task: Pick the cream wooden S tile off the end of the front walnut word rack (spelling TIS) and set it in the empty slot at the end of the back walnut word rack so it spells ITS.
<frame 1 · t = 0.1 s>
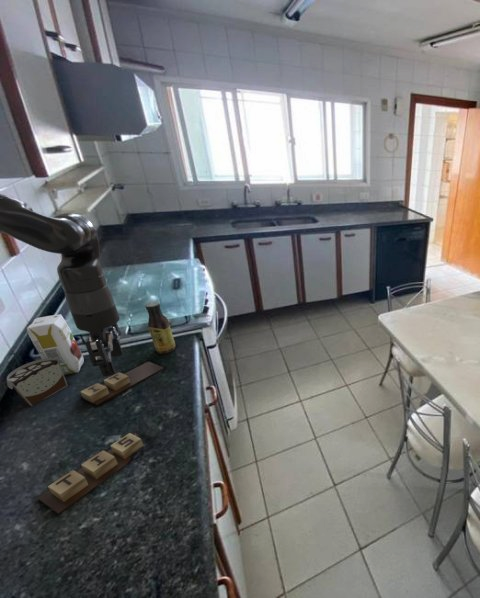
hand: (113, 364, 80), 22 cm above the table, tool pointing down, fingers open, 8 cm apart
food container: (43, 394, 99), on the table
left word rack: (102, 470, 79), on the table
right word rack: (125, 382, 107), on the table
s tile: (128, 449, 84), point 1 cm above the table, touching left word rack
sauce bottle: (167, 350, 124), on the table
juice carton: (69, 370, 110), on the table
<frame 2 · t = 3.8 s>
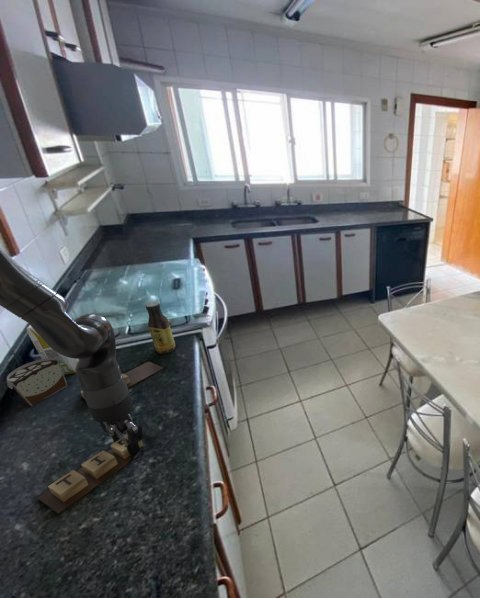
hand: (128, 448, 84), 1 cm above the table, tool pointing down, fingers closed on s tile, 4 cm apart
s tile: (128, 449, 84), point 1 cm above the table, touching gripper, left word rack
everything else where it was.
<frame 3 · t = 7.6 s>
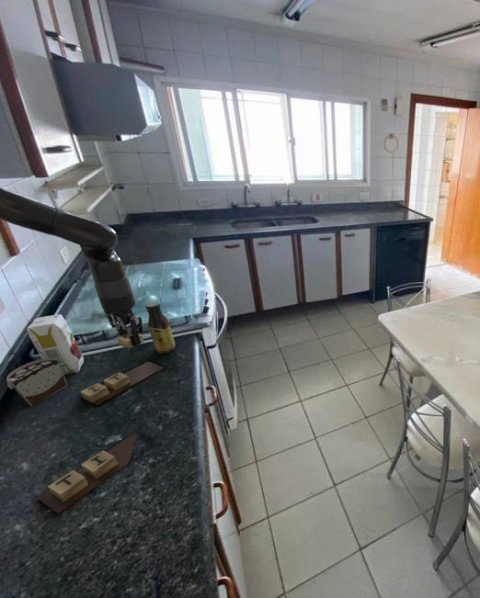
hand: (131, 342, 101), 16 cm above the table, tool pointing down, fingers closed on s tile, 4 cm apart
s tile: (131, 343, 101), point 15 cm above the table, touching gripper
everything else where it was.
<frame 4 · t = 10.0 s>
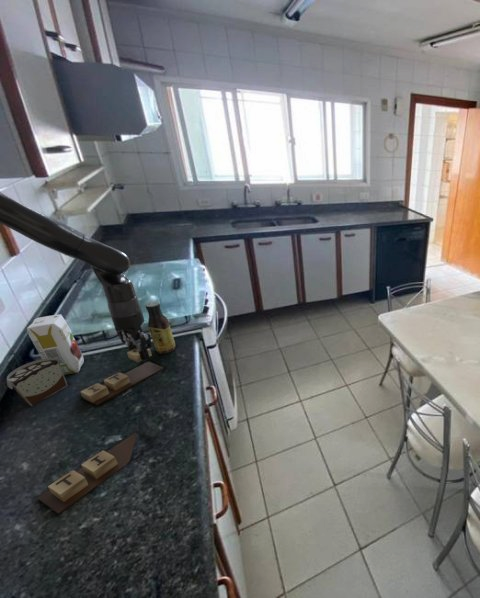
hand: (140, 356, 109), 7 cm above the table, tool pointing down, fingers closed on s tile, 4 cm apart
s tile: (140, 357, 109), point 6 cm above the table, touching gripper
everything else where it was.
when the fingers open (1 cm above the table, at t = 11.7 s): s tile stays where it is, resting on right word rack.
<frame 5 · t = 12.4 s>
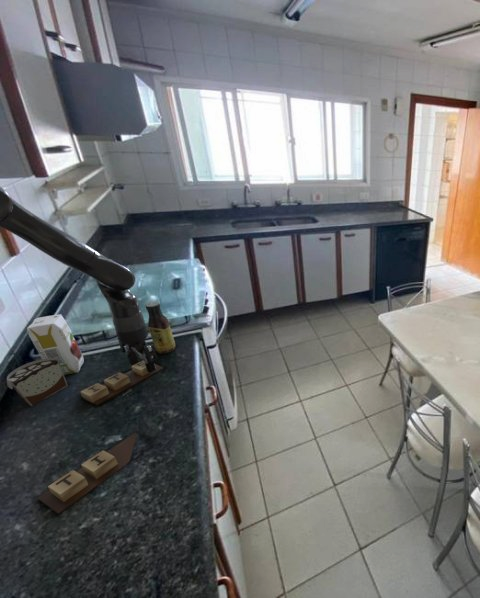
hand: (143, 367, 111), 2 cm above the table, tool pointing down, fingers open, 8 cm apart
s tile: (144, 370, 111), point 1 cm above the table, touching right word rack
everything else where it was.
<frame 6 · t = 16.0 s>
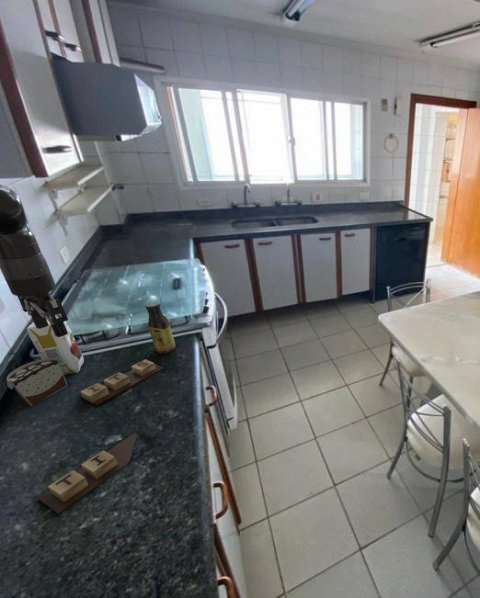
hand: (52, 331, 85), 26 cm above the table, tool pointing down, fingers open, 8 cm apart
nothing on the table moved.
at the end: s tile 0.1 cm from the target spot on the right word rack, point 0.8 cm above the right word rack's base; s tile tilted 0°; the gripper is holding nothing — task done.
